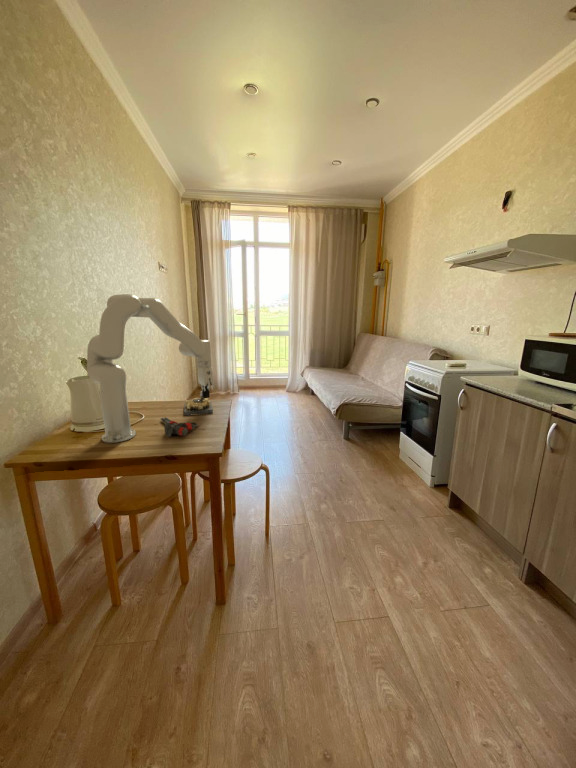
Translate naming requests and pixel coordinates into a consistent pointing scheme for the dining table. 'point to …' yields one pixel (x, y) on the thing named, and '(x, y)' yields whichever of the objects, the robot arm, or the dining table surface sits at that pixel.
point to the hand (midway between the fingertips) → (206, 397)
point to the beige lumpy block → (198, 402)
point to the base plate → (198, 410)
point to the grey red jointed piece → (177, 427)
